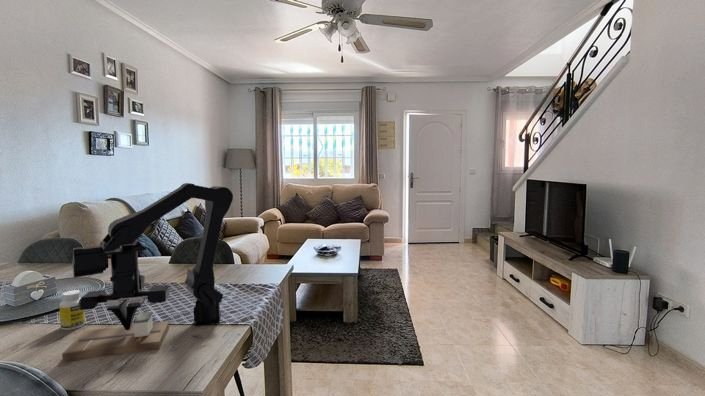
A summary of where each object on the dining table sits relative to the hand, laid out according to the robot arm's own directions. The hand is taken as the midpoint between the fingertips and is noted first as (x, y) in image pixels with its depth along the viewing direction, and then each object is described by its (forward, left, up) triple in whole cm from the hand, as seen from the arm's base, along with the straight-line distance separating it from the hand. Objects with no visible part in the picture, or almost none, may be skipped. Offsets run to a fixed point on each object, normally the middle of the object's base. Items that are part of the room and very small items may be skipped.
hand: (128, 329), depth 91 cm
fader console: (+2, 0, -3) cm, 4 cm away
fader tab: (-3, 0, -1) cm, 4 cm away
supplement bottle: (+18, -15, -4) cm, 24 cm away
